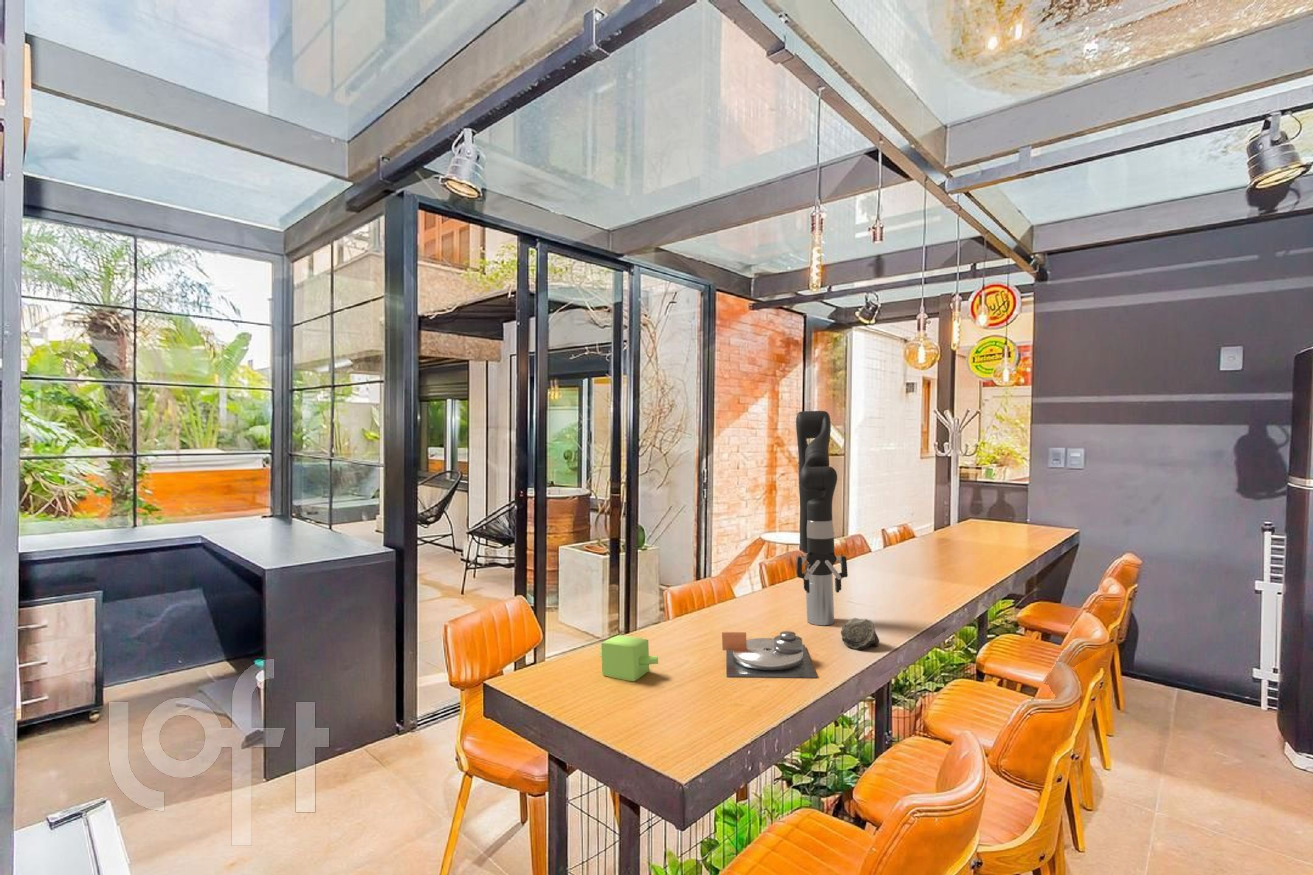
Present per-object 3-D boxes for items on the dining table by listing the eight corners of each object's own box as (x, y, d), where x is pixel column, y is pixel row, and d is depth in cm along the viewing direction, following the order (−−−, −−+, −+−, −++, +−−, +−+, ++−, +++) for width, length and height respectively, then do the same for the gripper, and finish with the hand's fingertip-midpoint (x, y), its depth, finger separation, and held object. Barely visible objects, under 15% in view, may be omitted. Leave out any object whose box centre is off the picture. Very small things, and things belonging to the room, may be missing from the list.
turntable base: (726, 646, 184) (726, 644, 184) (804, 647, 182) (804, 644, 182) (726, 676, 161) (726, 673, 161) (816, 677, 158) (816, 674, 158)
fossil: (838, 647, 179) (839, 613, 184) (843, 652, 186) (844, 620, 191) (876, 650, 174) (875, 616, 179) (880, 656, 181) (880, 622, 186)
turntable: (723, 644, 183) (722, 622, 183) (798, 645, 180) (797, 623, 180) (722, 669, 163) (721, 644, 163) (807, 670, 160) (806, 645, 160)
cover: (773, 644, 175) (772, 629, 175) (800, 644, 174) (800, 629, 174) (775, 654, 167) (774, 638, 167) (804, 654, 166) (803, 638, 166)
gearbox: (666, 672, 165) (665, 638, 166) (648, 685, 157) (647, 649, 157) (614, 662, 175) (613, 630, 175) (594, 674, 166) (593, 640, 166)
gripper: (843, 533, 173) (845, 588, 172) (793, 533, 174) (795, 589, 174) (848, 537, 165) (850, 595, 165) (796, 538, 167) (798, 595, 167)
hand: (822, 591), depth 169 cm, fingers open, 8 cm apart
